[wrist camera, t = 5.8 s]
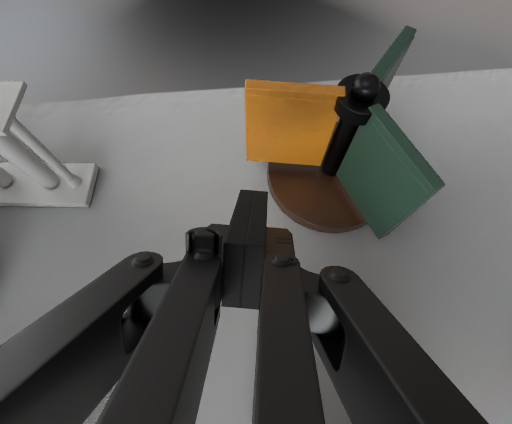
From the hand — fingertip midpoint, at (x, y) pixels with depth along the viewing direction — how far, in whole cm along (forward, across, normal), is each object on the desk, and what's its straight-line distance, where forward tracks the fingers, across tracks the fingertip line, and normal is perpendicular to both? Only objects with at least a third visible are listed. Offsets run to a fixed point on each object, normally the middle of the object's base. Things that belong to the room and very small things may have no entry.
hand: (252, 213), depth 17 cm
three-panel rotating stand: (+12, +6, -1) cm, 14 cm away
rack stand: (+14, +7, -1) cm, 16 cm away
